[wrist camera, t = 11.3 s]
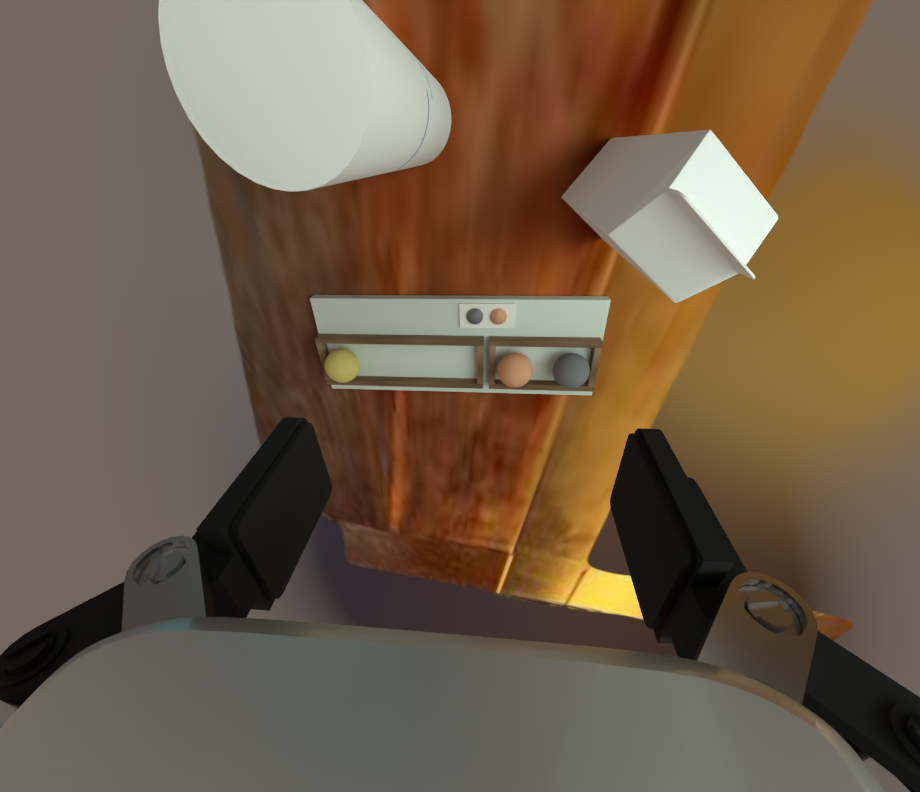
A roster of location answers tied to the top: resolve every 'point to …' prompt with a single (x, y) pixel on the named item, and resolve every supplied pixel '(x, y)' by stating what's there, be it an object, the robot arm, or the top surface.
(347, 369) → the ochre ball
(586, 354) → the board
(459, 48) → the top surface
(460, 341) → the wooden picture frame
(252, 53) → the cylindrical container
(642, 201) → the milk
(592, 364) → the wooden rectangular frame
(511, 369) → the terracotta ball
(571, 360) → the charcoal ball
